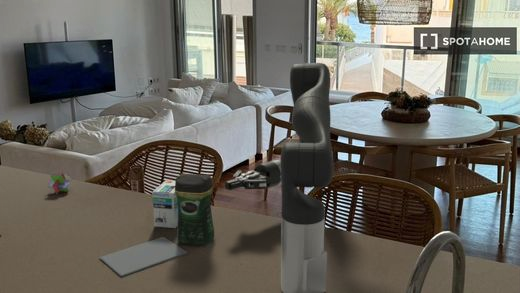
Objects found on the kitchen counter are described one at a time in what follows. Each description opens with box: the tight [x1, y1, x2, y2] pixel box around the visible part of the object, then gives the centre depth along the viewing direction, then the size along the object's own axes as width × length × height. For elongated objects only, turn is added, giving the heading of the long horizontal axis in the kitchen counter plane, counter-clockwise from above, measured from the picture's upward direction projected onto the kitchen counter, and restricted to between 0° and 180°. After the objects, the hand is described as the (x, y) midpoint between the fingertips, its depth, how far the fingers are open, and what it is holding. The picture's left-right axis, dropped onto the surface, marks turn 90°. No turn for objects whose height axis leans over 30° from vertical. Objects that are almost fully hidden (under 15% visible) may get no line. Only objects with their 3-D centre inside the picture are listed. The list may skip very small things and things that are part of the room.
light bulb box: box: [151, 179, 178, 229], centre depth 148 cm, size 11×7×11 cm, turn 168°
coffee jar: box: [175, 172, 215, 247], centre depth 134 cm, size 10×8×19 cm
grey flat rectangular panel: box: [99, 236, 188, 278], centre depth 128 cm, size 12×18×1 cm, turn 131°
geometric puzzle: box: [47, 172, 72, 196], centre depth 172 cm, size 7×7×8 cm
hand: (226, 186), depth 140 cm, fingers closed
